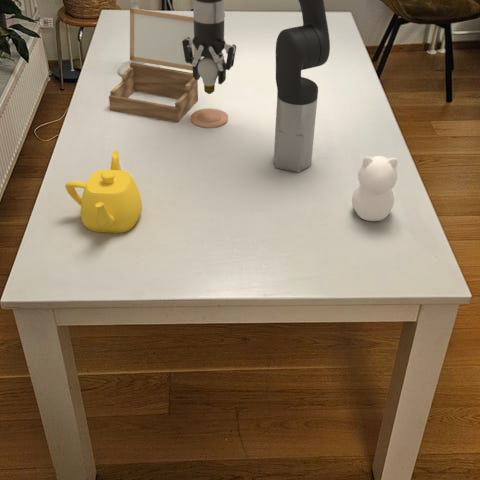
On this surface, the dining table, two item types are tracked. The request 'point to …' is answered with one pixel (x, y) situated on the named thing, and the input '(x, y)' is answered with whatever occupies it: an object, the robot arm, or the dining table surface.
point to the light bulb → (208, 73)
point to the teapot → (108, 199)
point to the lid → (160, 38)
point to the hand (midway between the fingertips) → (209, 80)
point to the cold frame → (155, 92)
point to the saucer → (209, 118)
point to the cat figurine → (375, 188)
